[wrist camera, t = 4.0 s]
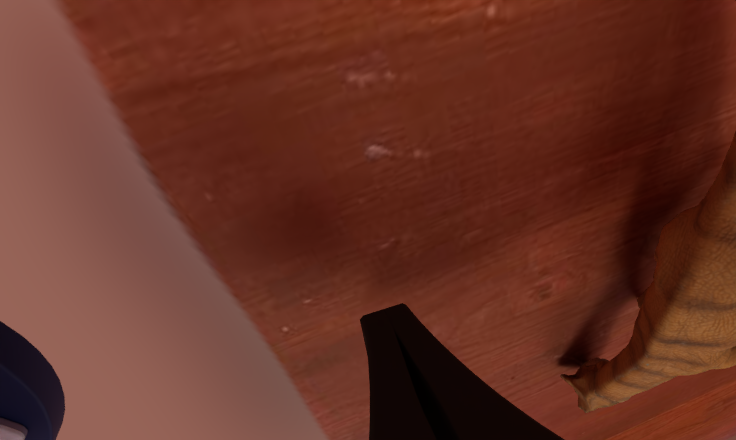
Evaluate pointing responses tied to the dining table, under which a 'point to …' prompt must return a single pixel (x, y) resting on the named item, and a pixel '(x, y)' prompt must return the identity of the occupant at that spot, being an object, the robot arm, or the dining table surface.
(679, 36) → the dining table surface
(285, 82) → the dining table surface
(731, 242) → the dinosaur figurine
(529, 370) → the dining table surface
